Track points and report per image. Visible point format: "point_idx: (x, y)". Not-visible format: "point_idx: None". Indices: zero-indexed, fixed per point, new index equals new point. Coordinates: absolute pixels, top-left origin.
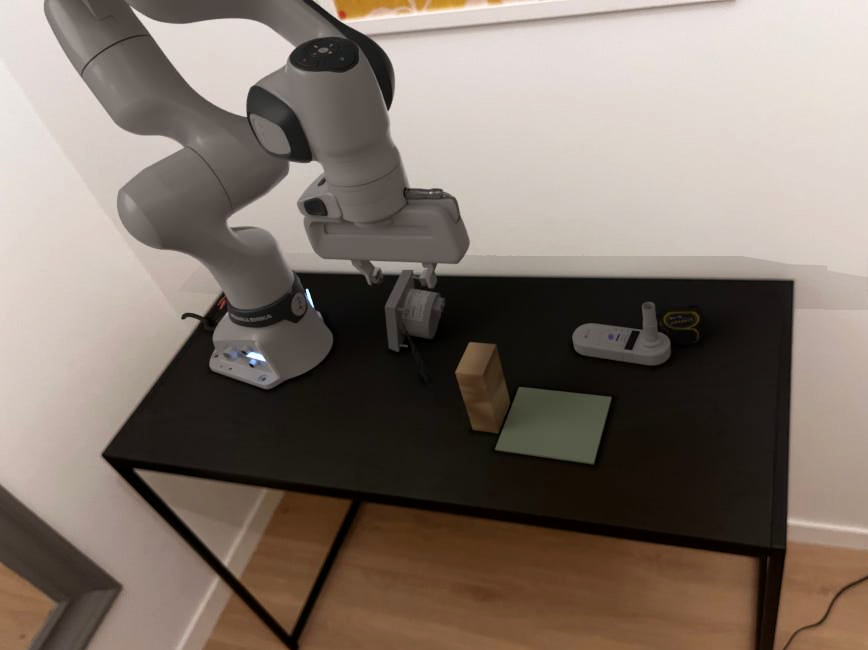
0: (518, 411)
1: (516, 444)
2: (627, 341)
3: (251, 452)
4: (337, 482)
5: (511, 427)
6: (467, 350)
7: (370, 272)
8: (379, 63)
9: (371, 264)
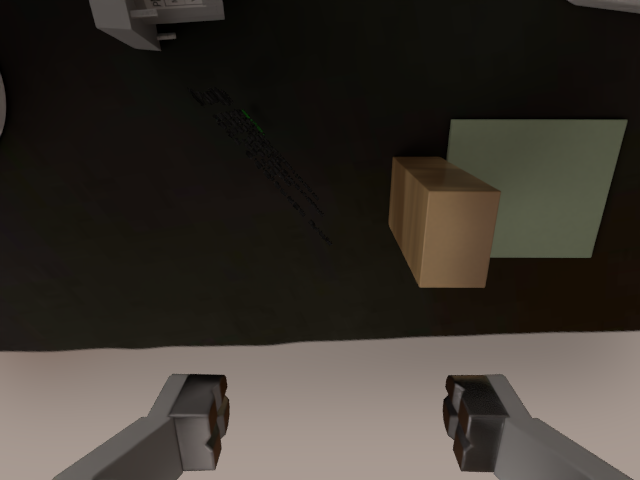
0: None
1: None
2: None
3: (46, 318)
4: (217, 341)
5: None
6: (431, 220)
7: (178, 459)
8: None
9: (153, 436)
